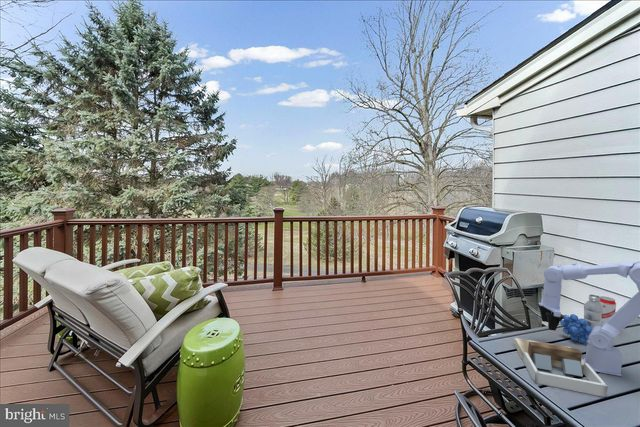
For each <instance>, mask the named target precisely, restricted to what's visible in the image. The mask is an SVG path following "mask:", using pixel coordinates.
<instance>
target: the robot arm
mask: <svg viewBox="0 0 640 427" xmlns="http://www.w3.org/2000/svg"><path fill="white" fill-rule="evenodd" d="M591 275H592V276H595V275H596V276H597V275H618V276H621V277H623V278H626V279H627V278H628V276H629V278H630V280H631V281H632V282H633V283H635V284H634V285H636V287H637V290H638V292H636V294H634V295H633V296H632V297H631V298H630V299H629V300H628V301H626V302H625V303H624V304H623V305H622V306H621V307H620V308H619V309H618V310H616V311H615V313H614V314H613V315H612V316H611V317H610V318H609V319H608V320H606V321H604V322H603V323H602V324H599V325H595V326H594V327H593V328H592V331H591V333H590V334H589V336H588V339H589V340H587V343H586V353H585V357H582V360H583V362H584V363H588V364H589V366H590V367H591V368H592V369H593V370H594V371H595V372H596V373H601V374H608V375H613V376H618V377H622V376H623V375H622V374H621V373H622V366H623V354H622V351H621V350H620V348H618V347H615V346H613V341H614V340H615V339H616V338H617V337H618V335H619V334H620V333H621V332H622V331H623V330H624V329H625V328H626V327H627V326H629V325H630V324H631V323H633V322H634V321H635V320H636V319H637V318H638V317H639V316H640V260H639V261H635V262H634V261H621V262H619V261H618V262H612V263H603V264H596V265H591V266H590V265H589V266H586V265H584V264H582V263H577V262H572V263H571V264H567V265H562V264H558V265H550V266H549V267H547V268H546V269H545V270H543V277H544V283H543V291H542V292H543V293H542V297H541V298H540V299H541V300H540V302H538V303H537V306H538V308H539V312H540V317H541V321H542V322H544V323H545V322H546V323H547V326H548V330H549V331H556V330H557V328H558V326H559V324H560V321H561V320H564V319H563V318H564V317H563V316H564V315H562V313H561V297H562V296H561V294H562V281H571V280H584V279H586V278H587V277H588V276H591Z"/></svg>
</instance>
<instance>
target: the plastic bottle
mask: <svg viewBox="0 0 640 427" xmlns="http://www.w3.org/2000/svg"><path fill="white" fill-rule="evenodd" d="M600 297H601V296H600V295H595V294H589V295H588V300H587V301H586V302H585V303H584V305H583V319H585V320H586V321H587V326H590V327H591V328H593V327H594V326H595V325H599V324H600V319H601V315H602V312H603V307H602V305H601V304H600V303H599V302H600Z"/></svg>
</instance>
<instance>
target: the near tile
mask: <svg viewBox="0 0 640 427" xmlns="http://www.w3.org/2000/svg"><path fill="white" fill-rule="evenodd" d="M562 366H563V369H562V371H563V374H564V375H570V376H574V377H579V378H580V377H583V376H584V373H583V372H582V369H581V363H580V361H576V360H570V359H564V358H563V359H562Z"/></svg>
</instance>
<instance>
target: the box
mask: <svg viewBox="0 0 640 427" xmlns="http://www.w3.org/2000/svg"><path fill="white" fill-rule="evenodd" d="M522 361H523V364H524V366H525V367H526V369H527V372H528V373H529V375H530V376H531V378H532V379H531V380H533V383H534V384H538V385H544V386H548V387H553V388H558V389H564V390H568V391H572V392H573V391H574V392H579V393H582V394H589V395H593V396H596V397H597V396H598V397H604V398H607V396H608V395H607V394H608V385H607V384H606V382H605V381H604V380H603V379H602V378H601V377H600V376H599V374H598V373H597V372H596V371H594V370H593V369H592V368H591V367H590V366H589V364H588V363H584V367H583V372H582V374H583V376H585V377H586V378H587V380H586V379H580V378H574V377H571V376H570V377H569V376H564V375H561V374H560V375H559V374H555V373H549V372H544V371H539V370H538V368H536V367H535V365H534V363H533V362H532V360H531V358H530V356H529V355H528V353H526V352H524V360H522Z"/></svg>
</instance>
